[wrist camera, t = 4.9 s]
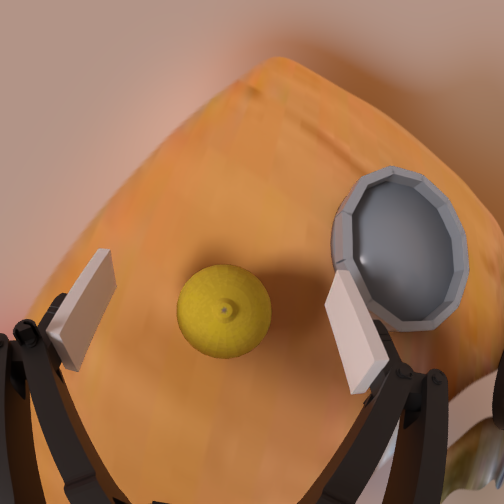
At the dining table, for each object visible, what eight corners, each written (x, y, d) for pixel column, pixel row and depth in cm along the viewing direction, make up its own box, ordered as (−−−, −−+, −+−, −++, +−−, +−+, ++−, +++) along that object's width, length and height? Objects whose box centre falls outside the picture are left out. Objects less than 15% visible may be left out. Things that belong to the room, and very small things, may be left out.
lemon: (219, 259, 21) (218, 227, 14) (276, 308, 21) (308, 302, 13) (170, 315, 20) (140, 314, 12) (228, 365, 20) (232, 393, 12)
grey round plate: (443, 194, 25) (457, 185, 23) (452, 327, 22) (469, 326, 20) (328, 167, 24) (338, 153, 22) (327, 331, 21) (340, 333, 19)
